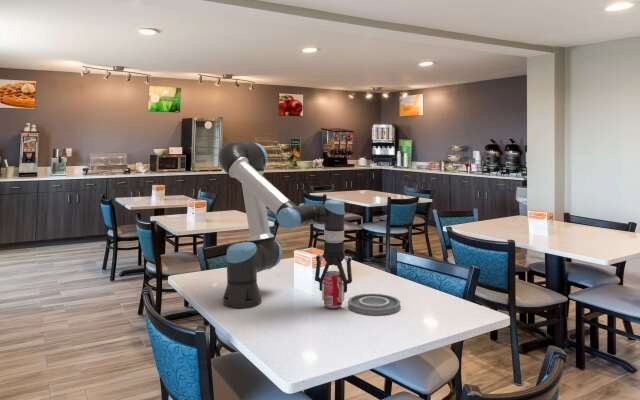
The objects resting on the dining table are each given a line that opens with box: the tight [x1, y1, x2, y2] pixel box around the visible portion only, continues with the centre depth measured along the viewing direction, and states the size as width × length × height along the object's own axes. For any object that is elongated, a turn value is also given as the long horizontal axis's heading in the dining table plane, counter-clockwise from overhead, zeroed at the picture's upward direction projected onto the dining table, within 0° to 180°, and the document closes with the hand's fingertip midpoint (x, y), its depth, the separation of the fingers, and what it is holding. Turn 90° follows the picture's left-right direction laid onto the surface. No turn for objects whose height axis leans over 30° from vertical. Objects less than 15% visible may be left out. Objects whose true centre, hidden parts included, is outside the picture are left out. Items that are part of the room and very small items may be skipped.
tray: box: [347, 293, 401, 317], centre depth 182 cm, size 20×20×2 cm
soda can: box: [323, 270, 343, 309], centre depth 181 cm, size 7×7×13 cm
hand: (333, 299), depth 182 cm, fingers closed on soda can, 7 cm apart
